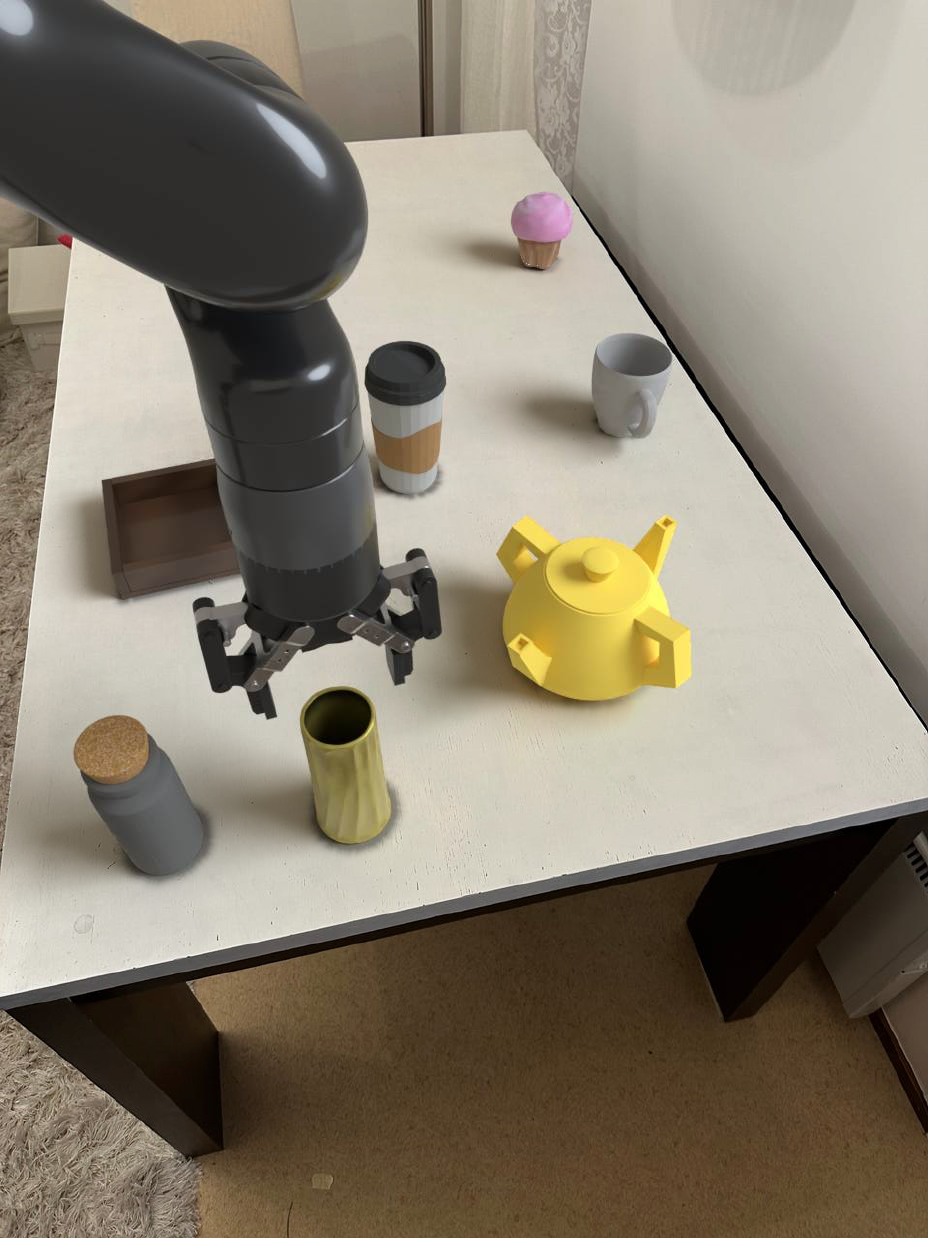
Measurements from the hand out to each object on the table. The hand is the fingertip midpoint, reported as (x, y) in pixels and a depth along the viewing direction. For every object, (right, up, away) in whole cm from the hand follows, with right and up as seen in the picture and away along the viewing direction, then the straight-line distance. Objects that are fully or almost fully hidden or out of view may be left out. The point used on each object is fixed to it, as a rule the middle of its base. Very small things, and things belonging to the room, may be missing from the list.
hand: (334, 690), depth 56 cm
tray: (-21, +13, +33) cm, 41 cm away
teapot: (+20, +2, +25) cm, 32 cm away
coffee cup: (+2, +21, +40) cm, 45 cm away
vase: (0, -11, +14) cm, 18 cm away
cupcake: (+20, +58, +71) cm, 93 cm away
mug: (+28, +27, +46) cm, 60 cm away
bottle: (-15, -13, +12) cm, 23 cm away
